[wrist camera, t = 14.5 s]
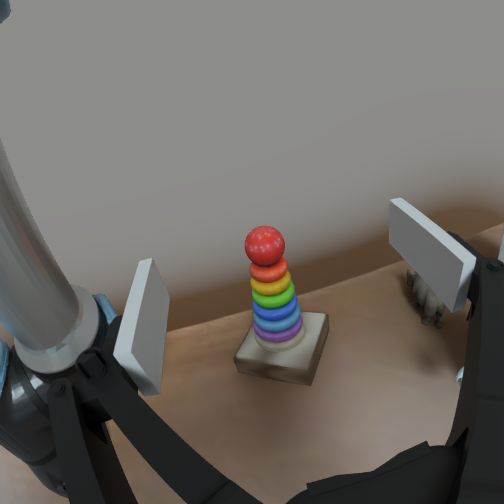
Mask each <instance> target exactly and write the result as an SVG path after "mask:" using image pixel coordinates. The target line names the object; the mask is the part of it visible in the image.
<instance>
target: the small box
mask: <svg viewBox="0 0 504 504" xmlns="http://www.w3.org/2000/svg"><path fill="white" fill-rule="evenodd" d="M498 260H500V261H502V262H503V263H504V229H503V234H502V240H501V245H500V250H499V254H498Z"/></svg>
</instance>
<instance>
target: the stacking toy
mask: <svg viewBox="0 0 504 504" xmlns="http://www.w3.org/2000/svg"><path fill="white" fill-rule="evenodd" d="M284 248H285V242H284V239H283V236H282V235H281V233H280V232H279V231H278V230H276V229H275V228H273V227H270V226H260V227H257V228H255V229H253V230H252V231H251V232H250V233H249V234H248V236H247V238H246V240H245V251H246V254H247V256H248V258H249V259H250V260H251V261H252V263H251V265H250V274H251V276H252V277H251V281H250V283H251V287H252V297H253V303H252V306H253V310H254V312H253V318H254V321H253V328H254V331H255V333H254V334H255V339H256V342H257V343H258V344H259V345H260V346H261V347H262V348H264V349H266V350H268V351H272V352H283V351H287V350H290V349H292V348H294V347H296V346H297V345H299V344H300V343H301V342H302V340H303V339H304V337H305V334H306V326H305V323H304V321H303V317H302V314H301V308H300V305H299V303H298V301H297V296H296V294H295V288H294V285H293V283H292V281H291V276H290V274H289V272H288V271H287V269H288V264H287V261H286V259H285V258H284V257H282V255H283V253H284Z"/></svg>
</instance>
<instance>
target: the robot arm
mask: <svg viewBox="0 0 504 504" xmlns="http://www.w3.org/2000/svg"><path fill="white" fill-rule="evenodd" d="M10 12H11V9H10V4H9V0H0V23H2V22H3V21H4V20H5V19H6V18H8V17H9V15H10ZM389 243H390V244H391V245H392V246H393V247H394V248H395V249H396V250H397V251H398V252H399V254H400V255H401V256H402V257H403V258H404V259H405V260H406V261H407V262H408V263H409V264H410V265H411V266H412V267H413V269H414V270H415V271H416V272H417V273H418V274H419V275H420V276H421V277H422V279H423V280H424V281H425V282H426V283H427V284H428V285H429V286H430V288H431V289H432V290H433V291H434V292H435V293H436V294H437V296H438V297H439V298H440V299H441V300H442V301H443V303H444V304H445V305H446V306H447V307H448V309H449V310H450V311H451V312H452V313H454V312H456V311H458V310H460V309H463V308H464V307H465V303H466V300H467V298H468V299H469V300H470V301H471V302H472V303H471V306H470V310H469V313H468V316H467V319H466V320H467V321H468V320H469V328H468V338H467V348H466V356H465V363H464V370H463V376H462V382H461V388H460V393H459V399H458V403H457V408H456V413H455V417H454V421H453V426H452V429H451V433H450V435H449V438H448V440H447V442H446V444H445V446H444V445H437V446H429V444H428V442H427V441H425V442H423V443H421V444H418V445H416V446H414V447H412V448H409V449H407V450H405V451H403V452H400V453H399V454H397V455H396V456H394V457H393V458H392V459H390V460H389V461H387V462H386V463H384V464H383V465H381V466H380V467H378V468H377V469H375V470H374V471H371V472H364V473H355V474H344V475H336V476H333V477H329V478H326V479H322V480H318V481H315V482H311V483H307V484H306V485H307V489H308V490H307V489H306V490H304V491H302V492H300V493H299V494H297V495H296V496H294V497H293V498H292V499H290V500H289V501H288V502H287V503H286V504H504V263H503V262H502V261H500V260H498V259H495V258H486V259H485V258H484V257H483V256H482V255H481V254H480V253H478V252H477V251H476V250H475V249H474V248H473V247H471V246H469V244H468V243H467V242H465V241H464V240H463V239H462V238H460V237H459V236H458V235H456V234H454V233H452V232H449V231H448V232H445V231H443V230H442V229H441V228H440V227H439V226H437V225H436V224H435V223H434V222H432V221H431V220H430V219H429V218H427V217H426V216H425V215H423V214H422V213H421V212H419V211H418V210H417V209H415V208H414V207H413V206H411V205H410V204H409V203H407V202H406V201H405V200H403V199H402V198H396V199H391V200H389ZM169 302H170V297H169V294H168V292H167V290H166V288H165V285H164V283H163V281H162V279H161V276H160V274H159V272H158V269H157V267H156V265H155V262H154V260H153V258H149V259H145V260H141V261H139V264H138V267H137V270H136V274H135V277H134V280H133V284H132V287H131V290H130V293H129V297H128V300H127V304H126V307H125V311H124V314H123V315H121V316H117V314H116V312H115V310H114V309H113V307H112V305H111V304H110V302H109V300H108V299H107V297H106V296H105V295H103V294H97V295H91V294H89V292H88V291H87V290H85V289H84V288H82V287H80V286H77V285H72V284H69V282H68V281H67V279H66V277H65V276H64V274H63V272H62V271H61V269H60V267H59V265H58V264H57V262H56V260H55V258H54V256H53V255H52V253H51V251H50V249H49V247H48V245H47V244H46V242H45V240H44V238H43V236H42V234H41V232H40V230H39V228H38V226H37V224H36V222H35V220H34V218H33V216H32V214H31V212H30V210H29V208H28V206H27V203H26V201H25V199H24V197H23V195H22V192H21V190H20V188H19V185H18V183H17V181H16V179H15V176H14V173H13V171H12V168H11V166H10V163H9V161H8V159H7V156H6V153H5V150H4V147H3V145H2V142H1V139H0V322H1V323H2V324H3V325H4V326H5V327H6V328H7V329H8V330H9V331H10V333H12V335H13V336H14V343H15V345H13V346H12V347H10V348H9V347H8V345H7V343H6V342H4V341H2V340H1V339H0V445H2V446H3V447H4V448H6V449H7V450H8V451H10V452H11V453H12V454H14V455H15V456H16V457H18V458H19V459H21V460H22V461H24V462H25V463H26V464H27V465H28V466H29V468H30V469H31V470H32V471H33V473H34V474H35V475H36V476H37V478H38V479H39V480H40V481H41V482H42V483H43V485H45V486H46V487H47V488H48V489H50V490H51V491H53V492H55V493H57V494H58V495H60V496H63V497H67V498H68V499H69V502H70V504H138V502H137V500H136V498H135V496H134V494H133V492H132V490H131V488H130V485H129V483H128V481H127V479H126V476H125V474H124V472H123V469H122V467H121V464H120V462H119V460H118V457H117V455H116V452H115V449H114V447H113V444H112V441H111V439H110V436H109V433H108V430H107V427H106V425H105V422H106V421H108V420H111V419H113V420H114V422H115V423H116V424H117V426H118V427H119V428H120V429H121V431H122V432H123V433H124V435H125V436H126V437H127V438H128V440H129V441H130V442H131V443H132V445H133V446H134V447H135V448H136V449H137V451H138V452H139V453H140V454H141V455H142V456H143V458H144V459H145V460H146V461H147V462H148V463H149V464H150V466H151V467H152V468H153V469H154V470H155V471H156V472H157V473H158V474H159V475H160V477H161V478H162V479H163V480H164V481H165V482H166V483H167V484H168V485H169V486H170V487H171V488H172V489H173V490H174V491H175V492H176V493H177V494H178V495H179V496H180V497H181V498H182V499H183V500H184V501H185V502H186V503H187V504H263V503H261V502H260V501H259V500H257V499H256V498H254V497H253V496H252V495H250V494H249V493H248V492H246V491H245V490H244V489H242V488H241V487H240V486H238V485H237V484H236V483H234V482H233V481H231V480H230V479H228V478H227V477H225V476H224V475H223V474H222V473H220V472H219V471H218V470H217V469H216V468H214V467H213V466H212V465H211V464H210V463H208V462H207V461H206V460H205V459H204V458H203V457H201V456H200V455H199V454H198V453H197V452H196V451H195V450H194V449H192V448H191V447H190V446H189V445H188V444H187V443H186V442H185V441H184V440H183V439H182V438H181V437H179V436H178V435H177V434H176V433H175V432H174V431H173V430H172V429H171V428H170V427H169V426H168V425H167V424H166V423H165V422H164V421H163V420H162V419H161V418H160V417H159V416H158V415H157V414H156V413H155V412H154V411H153V410H152V409H151V408H150V407H149V406H148V404H147V403H146V402H145V401H144V400H143V399H142V398H141V397H140V396H139V395H138V389H139V390H140V391H141V393H142V394H143V395H144V396H149V395H157V394H160V393H161V380H162V368H163V357H164V346H165V337H166V327H167V318H168V310H169Z"/></svg>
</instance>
